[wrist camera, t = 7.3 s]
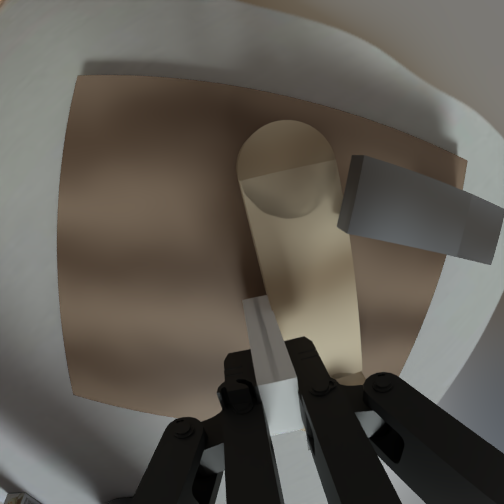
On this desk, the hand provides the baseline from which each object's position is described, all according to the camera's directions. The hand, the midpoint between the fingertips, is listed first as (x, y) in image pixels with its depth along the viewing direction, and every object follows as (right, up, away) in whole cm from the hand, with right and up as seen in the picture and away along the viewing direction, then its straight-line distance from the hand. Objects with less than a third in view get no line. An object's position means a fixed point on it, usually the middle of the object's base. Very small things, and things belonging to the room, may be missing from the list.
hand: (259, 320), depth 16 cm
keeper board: (0, +2, +2) cm, 2 cm away
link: (+2, +1, +1) cm, 3 cm away
